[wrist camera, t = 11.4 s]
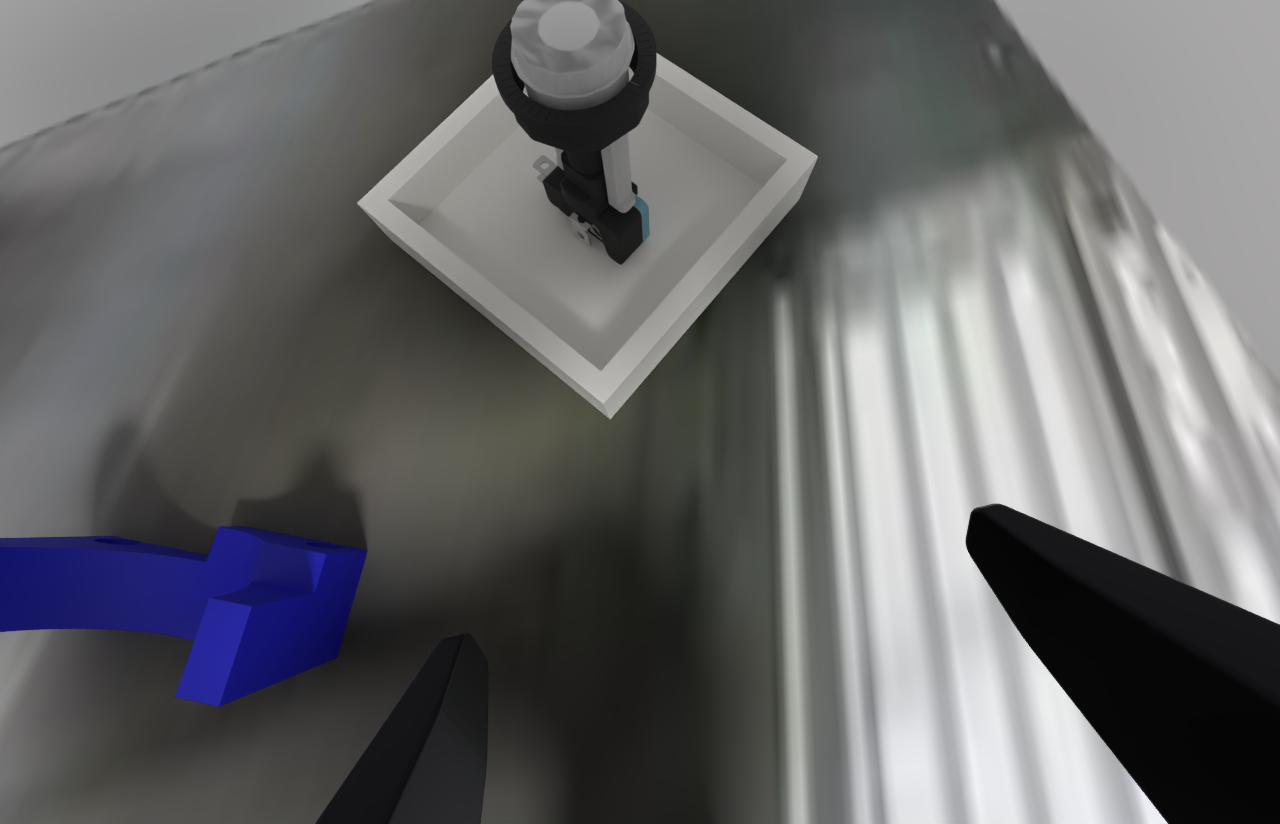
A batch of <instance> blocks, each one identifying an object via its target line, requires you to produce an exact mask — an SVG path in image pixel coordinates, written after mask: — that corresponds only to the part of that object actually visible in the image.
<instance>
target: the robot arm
mask: <svg viewBox="0 0 1280 824" xmlns="http://www.w3.org/2000/svg"><path fill="white" fill-rule="evenodd" d="M966 547H967V550H968V552H969V554H970V556H971V558H972V559H973V561H974V562H975V564H976V565H977V567H978V569H979V570H980V572H981V573H982V575H983V576H984V578H985V580H986V581H987V583H988V584H989V586H990V587H991V589H992V590H993V592H994V594H995V595H996V597H997V598H998V600H999V601H1000V603H1001V605H1002V606H1003V608H1004V609H1005V611H1006V612H1007V614H1008V616H1009V617H1010V619H1011V620H1012V622H1013V623H1014V625H1015V626H1016V628H1017V629H1018V631H1019V632H1020V634H1021V635H1022V637H1023V638H1024V639H1025V641H1026V642H1027V643H1028V645H1029V646H1030V647H1031V649H1032V650H1033V651H1034V653H1035V654H1036V655H1037V656H1038V658H1039V659H1040V660H1041V662H1042V663H1043V664H1044V665H1045V667H1046V668H1047V669H1048V670H1049V672H1050V673H1051V674H1052V676H1053V677H1054V678H1055V679H1056V681H1057V682H1058V683H1059V685H1060V686H1061V687H1062V688H1063V690H1064V691H1065V692H1066V694H1067V695H1068V696H1069V697H1070V699H1071V700H1072V701H1073V703H1074V704H1075V705H1076V706H1077V708H1078V709H1079V710H1080V711H1081V713H1082V714H1083V715H1084V717H1085V718H1086V719H1087V720H1088V722H1089V723H1090V724H1091V726H1092V727H1093V728H1094V729H1095V731H1096V732H1097V733H1098V735H1099V736H1100V737H1101V738H1102V740H1103V741H1104V742H1105V744H1106V745H1107V746H1108V747H1109V749H1110V750H1111V751H1112V752H1113V754H1114V755H1115V756H1116V758H1117V759H1118V760H1119V761H1120V763H1121V764H1122V765H1123V767H1124V768H1125V769H1126V770H1127V772H1128V773H1129V774H1130V776H1131V777H1132V778H1133V779H1134V781H1135V782H1136V783H1137V784H1138V786H1139V787H1140V788H1141V790H1142V791H1143V792H1144V793H1145V795H1146V796H1147V797H1148V799H1149V800H1150V801H1151V802H1152V804H1153V805H1154V806H1155V808H1156V809H1157V810H1158V811H1159V813H1160V814H1161V815H1162V817H1163V818H1164V819H1165V820H1166V822H1167V823H1168V824H1280V625H1279V624H1277V623H1275V622H1272V621H1270V620H1268V619H1265V618H1263V617H1261V616H1259V615H1256V614H1254V613H1252V612H1249V611H1247V610H1245V609H1242V608H1240V607H1238V606H1235V605H1233V604H1231V603H1229V602H1226V601H1224V600H1222V599H1219V598H1217V597H1215V596H1212V595H1210V594H1208V593H1206V592H1203V591H1201V590H1199V589H1196V588H1194V587H1192V586H1189V585H1187V584H1185V583H1182V582H1180V581H1178V580H1176V579H1173V578H1171V577H1169V576H1166V575H1164V574H1162V573H1159V572H1157V571H1155V570H1152V569H1150V568H1148V567H1146V566H1143V565H1141V564H1139V563H1136V562H1134V561H1132V560H1129V559H1127V558H1125V557H1122V556H1120V555H1118V554H1116V553H1113V552H1111V551H1109V550H1106V549H1104V548H1102V547H1099V546H1097V545H1095V544H1092V543H1090V542H1088V541H1086V540H1083V539H1081V538H1079V537H1076V536H1074V535H1072V534H1069V533H1067V532H1065V531H1063V530H1060V529H1058V528H1056V527H1053V526H1051V525H1049V524H1046V523H1044V522H1042V521H1039V520H1037V519H1035V518H1033V517H1030V516H1028V515H1026V514H1023V513H1021V512H1019V511H1016V510H1014V509H1012V508H1009V507H1007V506H1005V505H1002V504H990V505H986V506H981V507H977V508H975V509H974V510H973V511H972V512H971V514H970V519H969V525H968V530H967V535H966ZM487 737H488V663H487V660H486V657H485V655H484V654H483V652H482V651H481V649H480V648H479V646H478V645H477V643H476V642H475V640H474V639H473V637H472V636H471V634H470V633H467V632H462V633H457V634H453V635H449V636H447V637H445V638H444V639H442V640H441V642H440V643H439V644H438V646H437V647H436V649H435V650H434V652H433V653H432V655H431V656H430V657H429V659H428V660H427V662H426V663H425V665H424V666H423V668H422V669H421V671H420V672H419V673H418V675H417V676H416V678H415V679H414V681H413V682H412V684H411V685H410V687H409V688H408V689H407V691H406V692H405V694H404V695H403V697H402V698H401V700H400V701H399V703H398V704H397V705H396V707H395V708H394V710H393V711H392V713H391V714H390V716H389V717H388V719H387V720H386V721H385V723H384V724H383V726H382V727H381V729H380V730H379V732H378V733H377V735H376V736H375V737H374V739H373V740H372V742H371V743H370V745H369V746H368V748H367V749H366V751H365V752H364V753H363V755H362V756H361V758H360V759H359V761H358V762H357V764H356V765H355V767H354V768H353V769H352V771H351V772H350V774H349V775H348V777H347V778H346V780H345V781H344V782H343V784H342V785H341V787H340V788H339V790H338V791H337V793H336V794H335V796H334V797H333V798H332V800H331V801H330V803H329V804H328V806H327V807H326V809H325V810H324V812H323V813H322V814H321V816H320V817H319V819H318V820H317V822H316V823H315V824H480V823H481V814H482V805H483V796H484V787H485V778H486V767H487Z"/></svg>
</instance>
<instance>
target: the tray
mask: <svg viewBox="0 0 1280 824" xmlns="http://www.w3.org/2000/svg"><path fill="white" fill-rule="evenodd" d="M656 54H657V53H656ZM628 71H629V81H630V80H631V78H632V77H633V75H634V73H633V71H632V70H631V68H630V67H628ZM523 93H524V94H525V95H526V96H528V94H527V90H526V87H524V90H523ZM628 143H629V157H630V171H631V181H632V182H633V183H635V184H636V185H637V188H638V194H637V196H638V197H640V198H641V199H642V200H644V201H645V202H646V204H647V205H648V208H649V230H650V235H649V236H648V237H647V238H646V239H645V240H644V242H643V243H642V244H641V245H640V246H639V247H638V248H637V249H636V250H635V251H634V252H633V253H632V254H631V256H630V257H629V258H628V259H627V260H626V261H625V262H624V263H623V264H622V265H620V264H618V263H617V262H615V261H614V260H613V259H611V258H610V257H609V255H608V254H607V252H606V249H605V246H604V244H603V243H602V242H601V241H600V240H598V239H597V238H596V237H594V236H593V235H592V234H590V233H589V232H588V231H587V232H588V234H589V238H590V243H591V246H587V245H586V244H585V243H583V242H582V241H581V240H579V239H578V238H577V237H576V236H575V235H574V233H573V229H572V226H571V222H570V221H571V220H570V219H569V217H568V216H567V215H565V214H564V213H563V212H562V211H561V210H560V209H559V208H557V207H556V206H554V205H553V204H552V203H551V202H550V201H549V199H548V197H547V194H546V191H545V188H544V185H543V184H542V183H541V182H540V181H538V179H537V177H538V176H539V175H540V174H541V172H539V171H538V170H536V169H535V168H534V167H533V163H534V162H535V161H536V160H537V159H538V158H539V157H540V156H541V155H544V156H546V157H547V158H548V159H550V160H551V161H552V162H554V163H555V164H556V165H558V164H557V161H556V156H557V153H556V150H555V147H552V146H549V145H546V144H543V143H540V142H537V141H534V140H532V139H531V138H530V137H529V136H528V134H527V133H526V132H525V131H524V130H523V129H522V127H521V126H520V125H519V124H518V123H517V121H516V118H515V115H514V113H513V112H512V111H511V110H510V109H509V108H508V107H507V105H506V104H505V103H504V101H503V99H502V98H501V95H500V93H499V91H498V88H497V85H496V83H495V79H494V76H493V75H492V76H491V77H490V78H489V79H488V80H487V81H486V82H485V83H484V84H482V85H481V86H480V87H479V88H478V89H477V90H476V91H475V92H474V93H473V94H472V95H471V96H470V97H469V98H468V99H467V100H466V101H464V102H463V103H462V104H461V105H460V106H459V107H458V108H457V109H456V110H455V111H454V112H453V113H452V114H451V115H450V116H449V117H448V118H447V119H445V120H444V121H443V122H442V123H441V124H440V125H439V126H438V127H437V128H436V129H435V130H434V131H433V132H432V133H431V134H430V135H429V136H427V137H426V138H425V139H424V140H423V141H422V142H421V143H420V144H419V145H418V146H417V147H416V148H415V149H414V150H413V151H412V152H411V153H410V154H408V155H407V156H406V157H405V158H404V159H403V160H402V161H401V162H400V163H399V164H398V165H397V166H396V167H395V168H394V169H393V170H392V171H390V172H389V173H388V174H387V175H386V176H385V177H384V178H383V179H382V180H381V181H380V182H379V183H378V184H377V185H376V186H375V187H374V188H372V189H371V190H370V191H369V192H368V193H367V194H366V195H365V196H364V197H363V198H362V199H361V200H360V201H359V202H358V203H357V204H358V205H359V206H360V207H361V208H362V209H363V210H364V211H365V212H366V213H367V215H368V216H369V217H370V218H371V219H372V220H373V221H374V222H375V223H376V224H377V225H378V226H379V227H380V229H381V230H382V231H383V232H384V233H385V234H386V235H387V236H388V237H389V238H390V239H391V240H392V241H393V242H394V243H395V244H397V245H398V246H399V247H400V248H401V249H403V250H404V251H405V252H406V253H408V254H409V255H410V256H411V257H412V258H414V259H415V260H416V261H417V262H419V263H420V264H421V265H422V266H423V267H425V268H426V269H427V270H428V271H430V272H431V273H432V274H433V275H434V276H436V277H437V278H438V279H439V280H441V281H442V282H443V283H444V284H445V285H447V286H448V287H449V288H450V289H452V290H453V291H454V292H455V293H456V294H458V295H459V296H460V297H461V298H462V299H464V300H465V301H466V302H467V303H469V304H470V305H471V306H472V307H473V308H475V309H476V310H477V311H478V312H480V313H481V314H482V315H483V316H484V317H486V318H487V319H488V320H489V321H491V322H492V323H493V324H494V325H495V326H497V327H498V328H499V329H500V330H502V331H503V332H504V333H505V334H506V335H508V336H509V337H510V338H511V339H513V340H514V341H515V342H516V343H517V344H519V345H520V346H521V347H522V348H524V349H525V350H526V351H527V352H528V353H530V354H531V355H532V356H533V357H534V358H536V359H537V360H538V361H539V362H541V363H542V364H543V365H544V366H545V367H547V368H548V369H549V370H550V371H552V372H553V373H554V374H555V375H556V376H558V377H559V378H560V379H561V380H563V381H564V382H565V383H566V384H567V385H569V386H570V387H571V388H572V389H574V390H575V391H576V392H577V393H578V394H580V395H581V396H582V397H583V398H585V399H586V400H587V401H588V402H589V403H591V404H592V405H593V406H594V407H596V408H597V409H598V410H599V411H600V412H602V413H603V414H604V415H605V416H606V417H608V418H609V419H611V418H612V417H613V416H614V415H615V413H616V412H617V411H618V410H619V409H620V408H621V406H622V405H623V404H624V403H625V402H626V401H627V399H628V398H629V397H630V396H631V395H632V394H633V392H634V391H635V390H636V389H637V388H638V387H639V385H640V384H641V383H642V382H643V381H644V380H645V378H646V377H647V376H648V375H649V374H650V373H651V371H652V370H653V369H654V368H655V367H656V366H657V364H658V363H659V362H660V361H661V360H662V359H663V357H664V356H665V355H666V354H667V353H668V352H669V350H670V349H671V348H672V347H673V346H674V345H675V344H676V342H677V341H678V340H679V339H680V338H681V337H682V335H683V334H684V333H685V332H686V331H687V330H688V328H689V327H690V326H691V325H692V324H693V323H694V321H695V320H696V319H697V318H698V317H699V316H700V314H701V313H702V312H703V311H704V310H705V309H706V307H707V306H708V305H709V304H710V303H711V302H712V300H713V299H714V298H715V297H716V296H717V295H718V293H719V292H720V291H721V290H722V289H723V288H724V286H725V285H726V284H727V283H728V282H729V281H730V279H731V278H732V277H733V276H734V275H735V274H736V273H737V271H738V270H739V269H740V268H741V267H742V266H743V264H744V263H745V262H746V261H747V260H748V259H749V257H750V256H751V255H752V254H753V253H754V252H755V250H756V249H757V248H758V247H759V246H760V245H761V243H762V242H763V241H764V240H765V239H766V238H767V236H768V235H769V234H770V233H771V232H772V231H773V229H774V228H775V227H776V226H777V225H778V224H779V222H780V221H781V220H782V219H783V218H784V217H785V215H786V214H787V213H788V212H789V211H790V210H791V208H792V207H793V206H794V205H795V204H796V203H797V202H798V200H799V199H800V197H801V195H802V192H803V190H804V188H805V186H806V183H807V181H808V179H809V176H810V174H811V172H812V170H813V167H814V165H815V163H816V160H817V158H818V156H817V155H815V154H814V153H812V152H811V151H809V150H807V149H806V148H804V147H803V146H801V145H800V144H798V143H796V142H795V141H793V140H792V139H790V138H789V137H787V136H786V135H784V134H782V133H781V132H779V131H778V130H776V129H775V128H773V127H771V126H770V125H768V124H767V123H765V122H764V121H762V120H761V119H759V118H757V117H756V116H754V115H753V114H751V113H750V112H748V111H746V110H745V109H743V108H742V107H740V106H739V105H737V104H736V103H734V102H732V101H731V100H729V99H728V98H726V97H725V96H723V95H721V94H720V93H718V92H717V91H715V90H714V89H712V88H711V87H709V86H707V85H706V84H704V83H703V82H701V81H700V80H698V79H696V78H695V77H693V76H692V75H690V74H689V73H687V72H686V71H684V70H682V69H681V68H679V67H678V66H676V65H675V64H673V63H671V62H670V61H668V60H667V59H665V58H664V57H662V56H661V55H659V54H657V65H656V74H655V79H654V82H653V85H652V87H651V89H650V91H649V105H648V107H647V109H646V111H645V113H644V115H643V117H642V119H641V122H640V124H639V125H638V126H637V127H636V128H634V129H633V130H631V131H630V132H628ZM548 167H549V164H548V163H543V164H542V165H541V168H543V169H546V168H548ZM578 233H579V234H580V235H581V237H583V238H584V236H583V235H582V234H581V233H580V232H578Z"/></svg>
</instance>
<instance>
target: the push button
mask: <svg viewBox="0 0 1280 824" xmlns="http://www.w3.org/2000/svg"><path fill="white" fill-rule="evenodd" d="M656 65H657V54H656V44H655V40H654V37H653V34H652V32H651V30H650V28H649V26H648V25H647V23H646V22H645V20H644V19H643V18H642V17H641V16H640V15H639V14H638V13H637V12H636V11H635V10H634V9H632V8H631V7H630V6H628V5H626V4H625V3H623V2H621V1H619V0H524V1H523V2H522V3H521V4H520V5H519V6H518V8H517V11H516V13H515V15H514V16H513V18H512V19H511V20H510V21H509V23H508V24H507V25H506V26H505V27H504V29H503V30H502V32H501V34H500V35H499V37H498V39H497V42H496V44H495V47H494V51H493V57H492V70H493V76H494V79H495V83H496V85H497V88H498V91H499V93H500V95H501V98H502V99H503V101H504V103H505V104H506V105H507V107H508V108H509V109H510V110H511V111H512V112H513V113H514V115H515V118H516V121H517V123H518V124H519V125H520V126H521V127H522V129H523V130H524V131H525V132H526V133H527V134H528V136H529V137H530V138H531V139H532V140H534V141H537V142H540V143H543V144H546V145H549V146H552V147H555V150H556V153H557V156H556V161H557V164H558V165H556V164H555V163H554V162H552V161H551V160H550V159H548V158H547V157H546V156H544V155H541V156H540V157H539V158H538V159H537V160H536V161H535V162H534V163H533V167H534V168H535V169H536V170H538V171H539V172H541V174H540V175H539V176H538V177H537V179H538V181H540V182H541V183H542V184H543V185H544V188H545V191H546V194H547V197H548V199H549V201H550V202H551V203H552V204H553V205H554V206H556V207H557V208H559V209H560V210H561V211H562V212H563V213H564V214H565V215H567V216H568V217H569V219H570V220H571V221H570V222H571V226H572V229H573V233H574V235H575V236H576V237H577V238H578V239H579V240H581V241H582V242H583V243H585V244H586V245H587V246H591V243H590V238H589V234H588V232H589V233H590V234H592V235H593V236H594V237H596V238H597V239H598V240H600V241H601V242H602V243H603V244H604V246H605V249H606V252H607V254H608V255H609V257H610V258H611V259H613V260H614V261H615V262H617V263H618V264H620V265H622V264H623V263H624V262H625V261H626V260H627V259H628V258H629V257H630V256H631V254H632V253H633V252H634V251H635V250H636V249H637V248H638V247H639V246H640V245H641V244H642V243H643V242H644V240H645V239H646V238H647V237H648V236H649V235H650V230H649V208H648V205H647V204H646V202H645V201H644V200H642V199H641V198H640V197H638V196H637V194H638V188H637V185H636V184H635V183H633V182H632V181H631V171H630V157H629V143H628V132H630V131H631V130H633V129H634V128H636V127H637V126H638V125H639V124H640V122H641V119H642V117H643V115H644V113H645V111H646V109H647V107H648V105H649V91H650V89H651V87H652V85H653V82H654V79H655V74H656ZM628 67H630V68H631V70H632V71H633V73H634V75H633V77H632V78H631V80H630V81H629V71H628ZM524 87H526V90H527V94H528V96H526V95H525V94H524V93H523V90H524ZM543 163H548V164H549V167H548V168H546V169H543V168H541V165H542V164H543ZM587 231H588V232H587ZM578 232H580V233H581V234H582V235H583V236H584V238H583V237H581V235H580V234H579V233H578Z"/></svg>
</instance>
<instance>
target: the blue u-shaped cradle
mask: <svg viewBox="0 0 1280 824" xmlns="http://www.w3.org/2000/svg"><path fill="white" fill-rule="evenodd" d="M367 551H368V550H362V549H357V548H352V547H347V546H342V545H337V544H331V543H326V542H321V541H316V540H311V539H306V538H300V537H295V536H290V535H285V534H280V533H275V532H270V531H264V530H259V529H254V528H249V527H244V526H237V527H218V530H217V533H216V536H215V539H214V541H213V544H212V547H211V550H210V553H209V555H204V554H199V553H194V552H189V551H184V550H179V549H174V548H169V547H164V546H159V545H154V544H149V543H144V542H139V541H134V540H129V539H124V538H119V537H113V536H87V537H38V538H0V632H5V631H20V630H40V629H113V630H129V631H141V632H151V633H158V634H165V635H171V636H176V637H181V638H185V639H189V640H193V641H194V644H193V646H192V649H191V652H190V655H189V658H188V661H187V664H186V667H185V669H184V672H183V675H182V678H181V681H180V684H179V687H178V689H177V692H176V695H175V697H178V698H182V699H187V700H191V701H196V702H200V703H205V704H209V705H214V706H218V707H219V706H222V705H224V704H226V703H229V702H231V701H234V700H236V699H238V698H241V697H243V696H246V695H248V694H250V693H253V692H255V691H258V690H260V689H263V688H265V687H267V686H270V685H272V684H275V683H277V682H279V681H282V680H284V679H287V678H289V677H291V676H294V675H296V674H299V673H301V672H304V671H306V670H308V669H311V668H313V667H316V666H318V665H320V664H323V663H325V662H328V661H330V660H332V659H335V658H337V655H338V651H339V648H340V645H341V641H342V638H343V634H344V631H345V627H346V624H347V620H348V617H349V613H350V610H351V606H352V603H353V599H354V596H355V593H356V589H357V586H358V582H359V579H360V575H361V572H362V568H363V565H364V561H365V558H366V554H367Z"/></svg>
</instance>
